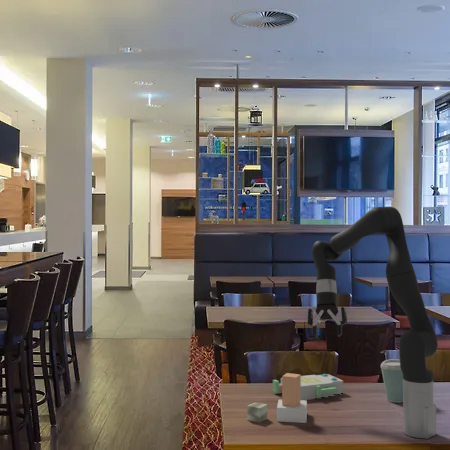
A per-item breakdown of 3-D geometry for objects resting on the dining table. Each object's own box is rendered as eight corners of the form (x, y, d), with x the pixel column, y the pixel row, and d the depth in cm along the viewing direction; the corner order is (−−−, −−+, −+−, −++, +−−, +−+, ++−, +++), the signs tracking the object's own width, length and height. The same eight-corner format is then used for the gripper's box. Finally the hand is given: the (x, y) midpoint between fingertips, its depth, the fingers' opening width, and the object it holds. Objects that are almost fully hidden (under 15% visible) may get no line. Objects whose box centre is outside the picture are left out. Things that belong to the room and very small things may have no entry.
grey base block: (306, 414, 206) (306, 400, 206) (306, 423, 196) (306, 408, 196) (278, 413, 207) (278, 399, 207) (276, 422, 197) (276, 407, 197)
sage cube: (267, 419, 200) (267, 404, 200) (259, 422, 196) (259, 408, 196) (255, 416, 203) (255, 402, 203) (247, 420, 199) (247, 405, 199)
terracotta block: (300, 403, 202) (300, 374, 203) (295, 406, 198) (296, 377, 198) (286, 401, 205) (287, 373, 205) (282, 404, 200) (282, 375, 200)
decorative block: (322, 370, 245) (349, 381, 227) (322, 385, 245) (349, 397, 227) (268, 375, 236) (291, 387, 217) (268, 391, 236) (291, 404, 217)
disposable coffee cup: (399, 406, 214) (399, 365, 214) (375, 400, 222) (374, 361, 222) (415, 400, 221) (414, 361, 221) (390, 395, 229) (390, 357, 229)
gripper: (305, 292, 216) (305, 335, 210) (342, 289, 210) (344, 334, 204) (311, 296, 222) (311, 338, 217) (347, 294, 216) (349, 337, 211)
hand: (327, 336), depth 211 cm, fingers open, 8 cm apart
